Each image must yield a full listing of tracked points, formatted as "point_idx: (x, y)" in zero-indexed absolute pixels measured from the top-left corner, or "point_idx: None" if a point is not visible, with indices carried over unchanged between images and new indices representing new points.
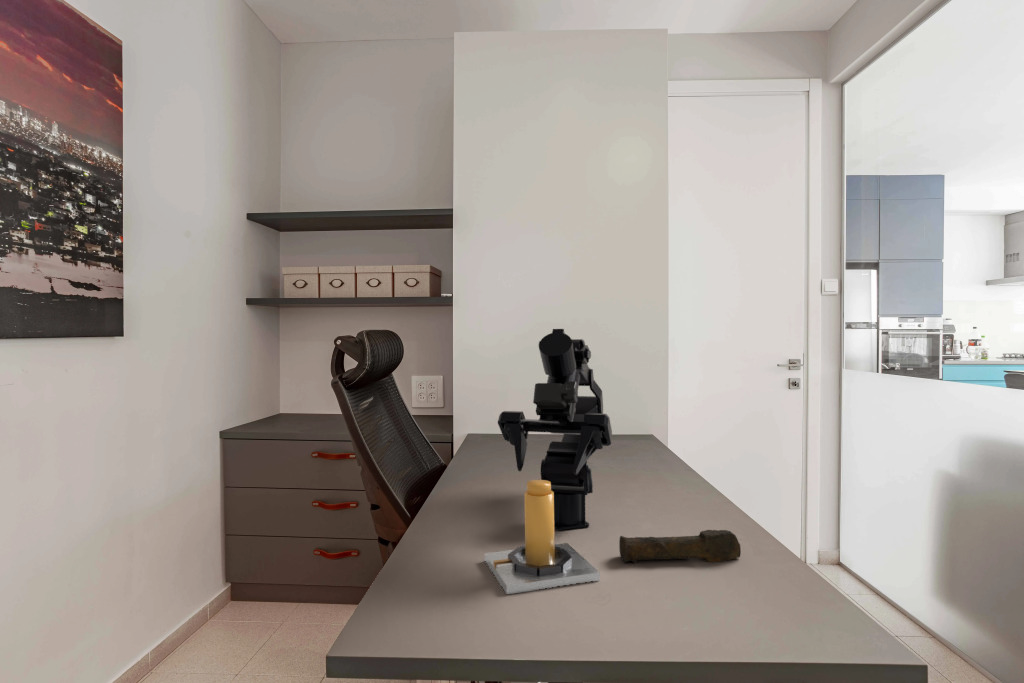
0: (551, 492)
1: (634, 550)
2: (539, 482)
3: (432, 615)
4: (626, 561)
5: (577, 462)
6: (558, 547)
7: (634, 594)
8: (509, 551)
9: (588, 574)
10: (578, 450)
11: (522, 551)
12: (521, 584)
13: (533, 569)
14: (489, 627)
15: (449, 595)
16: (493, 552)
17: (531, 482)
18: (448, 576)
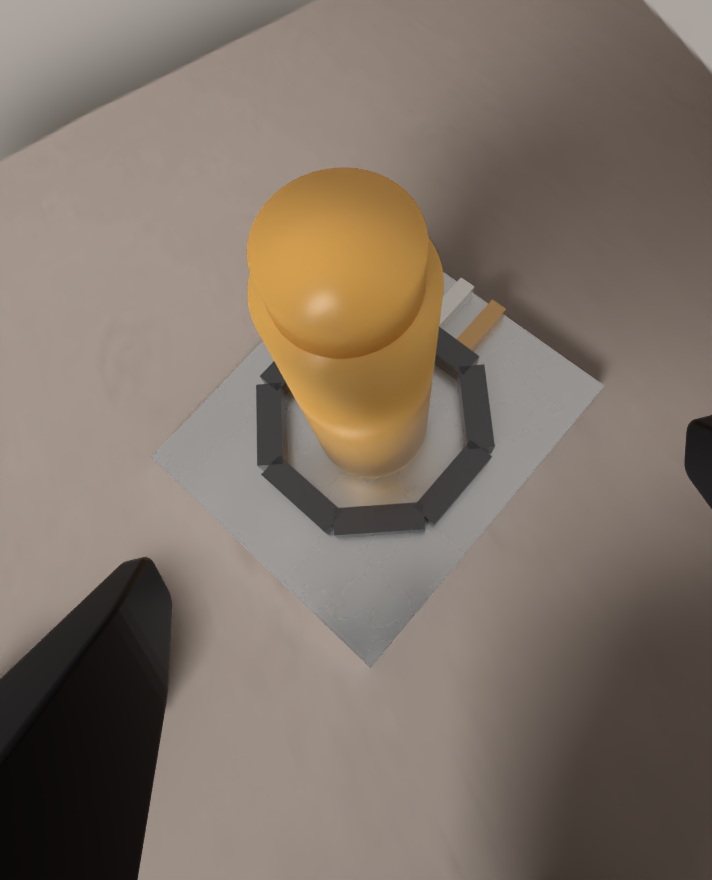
0: (273, 328)
1: None
2: (337, 252)
3: (477, 68)
4: None
5: (81, 615)
6: (346, 531)
7: (43, 431)
8: (532, 453)
9: (181, 425)
10: (3, 726)
11: (465, 440)
12: None
13: None
14: (321, 99)
15: (516, 157)
16: (580, 411)
17: (391, 226)
18: (611, 241)
